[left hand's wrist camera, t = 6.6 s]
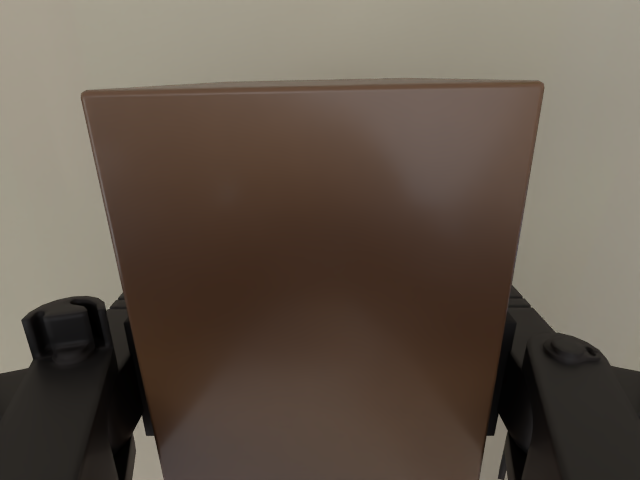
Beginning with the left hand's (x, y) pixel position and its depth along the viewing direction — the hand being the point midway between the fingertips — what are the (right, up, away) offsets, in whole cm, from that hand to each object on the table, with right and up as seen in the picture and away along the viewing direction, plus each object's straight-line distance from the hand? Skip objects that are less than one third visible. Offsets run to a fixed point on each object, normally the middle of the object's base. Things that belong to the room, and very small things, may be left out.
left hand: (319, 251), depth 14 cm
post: (0, -20, +8) cm, 22 cm away
